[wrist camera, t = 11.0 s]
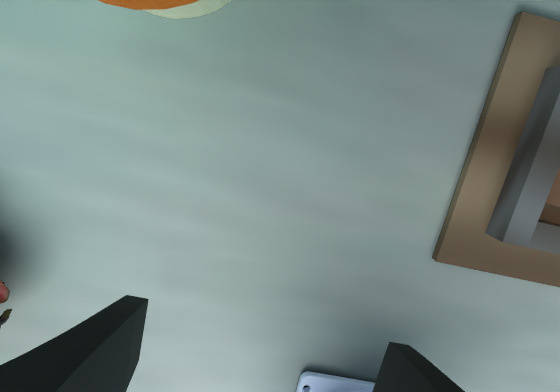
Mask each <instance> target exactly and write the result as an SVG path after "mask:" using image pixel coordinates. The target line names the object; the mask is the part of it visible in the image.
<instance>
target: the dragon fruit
mask: <svg viewBox="0 0 560 392" xmlns="http://www.w3.org/2000/svg"><path fill="white" fill-rule="evenodd" d="M3 283H4V282H1V280H0V303H3V302H5V301H7V299H8V297H9V294H10V291H9V290H8V288H7V287H5V286H4V284H5V283H4V284H3ZM7 286H8V285H7ZM11 311H12V309H7V310H6V311H4V313H3V314H2V315H1V316H0V328H1V325H2V324H4V323H5V322H6V321H7V319H8V318H9V315H10V313H11Z"/></svg>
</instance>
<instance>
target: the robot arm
mask: <svg viewBox="0 0 560 392" xmlns="http://www.w3.org/2000/svg"><path fill="white" fill-rule="evenodd" d="M147 305H148V299H146V298H140V297H134V296H129V295H126V296H124V297H123V298H121V299H119V300H118V301H116V302H114V303H113V304H111V305H109V306H108V307H106V308H105V309H103V310H101V311H100V312H98V313H96V314H95V315H93V316H91V317H90V318H88V319H87V320H85V321H83V322H81V323H80V324H78V325H76V326H75V327H73V328H71V329H70V330H68V331H66V332H64V333H63V334H61V335H59V336H57V337H55V338H53V339H51V340H49V341H48V342H46V343H44V344H42V345H40V346H38V347H36V348H34V349H32V350H31V351H29V352H27V353H25V354H23V355H21V356H19V357H17V358H15V359H12V360H10V361H8V362H6V363H4V364H2V365H0V392H126V390H127V387H128V385H129V383H130V380H131V378H132V376H133V373H134V371H135V368H136V366H137V364H138V361H139V355H140V349H141V343H142V337H143V330H144V324H145V318H146V312H147ZM305 385H308V386H309V387H306V388H305V387H303V386H305ZM296 392H465V391H463V390H462V389H461V388H460V387H459V386H458V385H456V384H455V383H454V382H453V381H452V380H451V379H449V378H448V377H447V376H446V375H445V374H444V373H442V372H441V371H440V370H439V369H438V368H437V367H435V366H434V365H433V364H432V363H431V362H430V361H428V360H427V359H426V358H425V357H424V356H422V355H421V354H420V353H419V352H417V351H416V350H415V349H413V348H412V347H410V346H409V345H405V344H399V343H394V342H389V345H388V348H387V350H386V353H385V356H384V359H383V362H382V365H381V368H380V371H379V374H378V377H377V379H376V382H375V383H373V382H368V381H362V380H356V379H350V378H344V377H339V376H333V375H327V374H321V373H315V372H304V373H303V374H301V376H300V379H299V383H298V387H297V390H296Z"/></svg>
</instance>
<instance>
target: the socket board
mask: <svg viewBox="0 0 560 392" xmlns="http://www.w3.org/2000/svg"><path fill="white" fill-rule="evenodd" d="M559 168H560V22H559V21H555V20H551V19H548V18H544V17H541V16H537V15H534V14H530V13H527V12H520V13H518V14H516V15H515V18H514V21H513V24H512V27H511V30H510V33H509V36H508V39H507V42H506V45H505V47H504V50H503V53H502V56H501V59H500V62H499V65H498V68H497V71H496V74H495V77H494V79H493V82H492V85H491V88H490V91H489V94H488V97H487V100H486V103H485V106H484V109H483V112H482V114H481V117H480V120H479V123H478V126H477V129H476V132H475V135H474V138H473V141H472V144H471V146H470V149H469V152H468V155H467V158H466V161H465V164H464V167H463V170H462V173H461V176H460V178H459V181H458V184H457V187H456V190H455V193H454V196H453V199H452V202H451V205H450V208H449V210H448V213H447V216H446V219H445V222H444V225H443V228H442V231H441V234H440V237H439V240H438V243H437V245H436V248H435V251H434V254H433V257H432V258H433V259H434V260H435V261H437V262H441V263H446V264H451V265H456V266H461V267H465V268H470V269H475V270H480V271H485V272H489V273H494V274H499V275H504V276H509V277H513V278H518V279H523V280H528V281H533V282H537V283H542V284H547V285H552V286H557V287H560V207H558V206H554V205H551V204H548V203H546V200H547V198H548V195H549V193H550V190H551V188H552V185H553V183H554V180H555V178H556V175H557V173H558V170H559Z"/></svg>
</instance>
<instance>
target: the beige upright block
mask: <svg viewBox="0 0 560 392" xmlns="http://www.w3.org/2000/svg"><path fill="white" fill-rule="evenodd" d="M546 203H548V204H551V205H554V206H558V207H560V168H559V170H558V173H557V175H556V178H555V180H554V183H553V185H552V188H551V190H550V193H549V195H548V198H547V200H546Z"/></svg>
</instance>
